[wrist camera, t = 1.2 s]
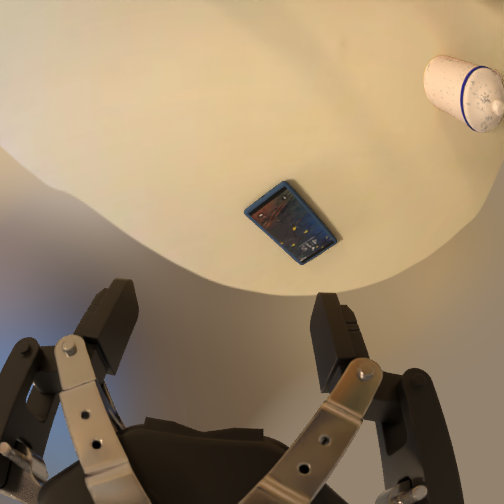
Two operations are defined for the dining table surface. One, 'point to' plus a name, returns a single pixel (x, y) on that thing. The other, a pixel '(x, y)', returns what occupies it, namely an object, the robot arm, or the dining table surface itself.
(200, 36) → the dining table surface
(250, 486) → the robot arm
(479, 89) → the teacup with lid
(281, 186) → the smartphone
